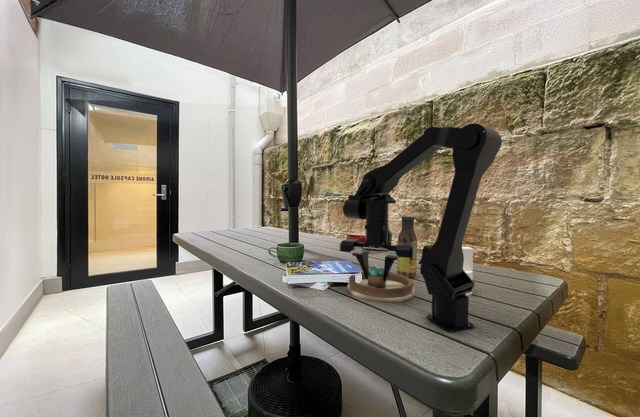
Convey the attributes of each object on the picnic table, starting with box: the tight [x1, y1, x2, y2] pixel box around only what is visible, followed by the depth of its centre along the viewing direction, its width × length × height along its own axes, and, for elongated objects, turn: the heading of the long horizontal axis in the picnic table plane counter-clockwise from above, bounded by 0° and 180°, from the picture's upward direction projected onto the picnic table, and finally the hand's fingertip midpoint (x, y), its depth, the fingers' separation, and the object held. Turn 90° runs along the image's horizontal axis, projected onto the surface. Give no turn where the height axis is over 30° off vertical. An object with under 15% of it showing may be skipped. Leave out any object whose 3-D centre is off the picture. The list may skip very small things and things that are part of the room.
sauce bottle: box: [396, 215, 418, 279], centre depth 90 cm, size 7×6×20 cm
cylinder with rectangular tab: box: [462, 246, 474, 297], centre depth 76 cm, size 9×9×12 cm
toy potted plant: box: [368, 266, 385, 287], centre depth 71 cm, size 4×4×4 cm
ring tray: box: [347, 271, 415, 304], centre depth 76 cm, size 18×18×4 cm
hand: (376, 280), depth 71 cm, fingers closed on toy potted plant, 4 cm apart
